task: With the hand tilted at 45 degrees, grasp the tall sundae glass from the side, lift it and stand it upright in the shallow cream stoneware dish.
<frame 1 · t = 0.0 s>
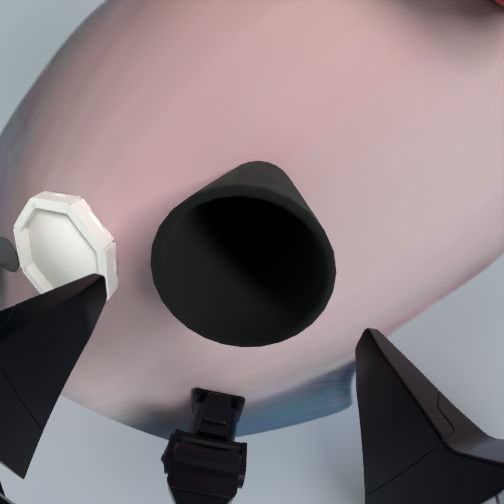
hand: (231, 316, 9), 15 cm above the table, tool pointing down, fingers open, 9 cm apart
cup: (258, 195, 23), on the table
sundae: (8, 254, 28), on the table
dish: (66, 252, 26), on the table
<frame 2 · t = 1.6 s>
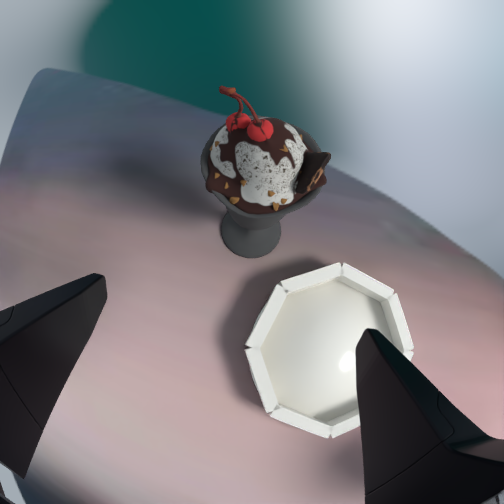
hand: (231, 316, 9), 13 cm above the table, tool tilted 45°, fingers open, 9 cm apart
sundae: (250, 230, 25), on the table
dish: (330, 351, 22), on the table
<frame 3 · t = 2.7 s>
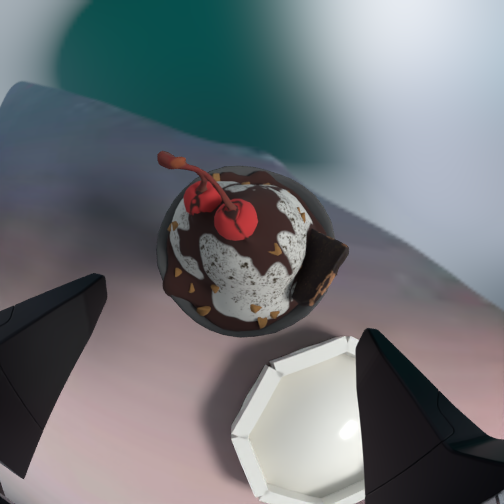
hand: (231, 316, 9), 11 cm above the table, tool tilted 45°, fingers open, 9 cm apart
sundae: (238, 293, 20), on the table
dish: (329, 429, 18), on the table
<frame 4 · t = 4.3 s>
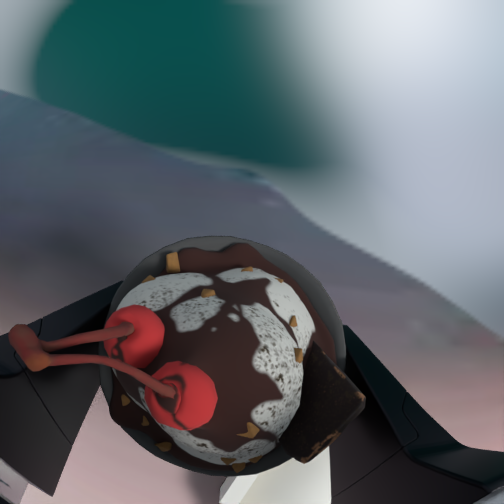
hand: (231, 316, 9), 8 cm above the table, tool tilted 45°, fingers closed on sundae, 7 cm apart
sundae: (226, 351, 17), on the table, touching gripper
dish: (325, 489, 14), on the table
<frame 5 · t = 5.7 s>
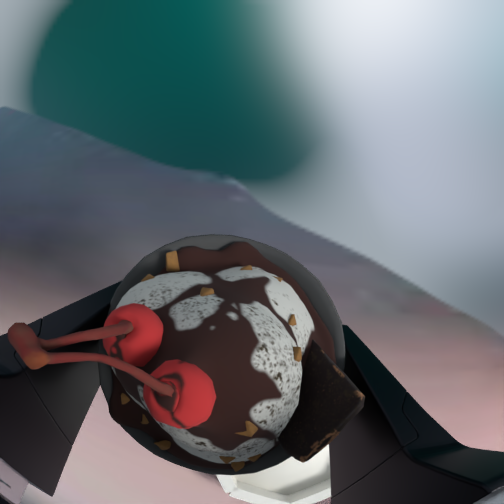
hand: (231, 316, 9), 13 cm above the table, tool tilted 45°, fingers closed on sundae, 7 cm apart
sundae: (226, 350, 17), point 5 cm above the table, touching gripper
dish: (291, 434, 20), on the table
when the fingers open (10 cm above the table, at t = 7.6 s): sundae drops 1 cm, resting on dish.
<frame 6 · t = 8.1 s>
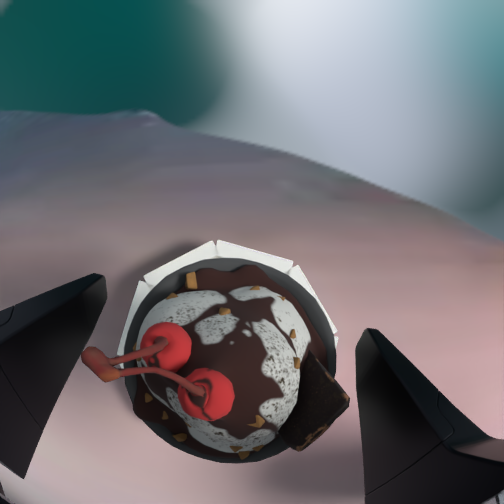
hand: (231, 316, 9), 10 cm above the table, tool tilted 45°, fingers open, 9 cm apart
sundae: (228, 352, 18), resting on dish
dish: (227, 349, 19), on the table
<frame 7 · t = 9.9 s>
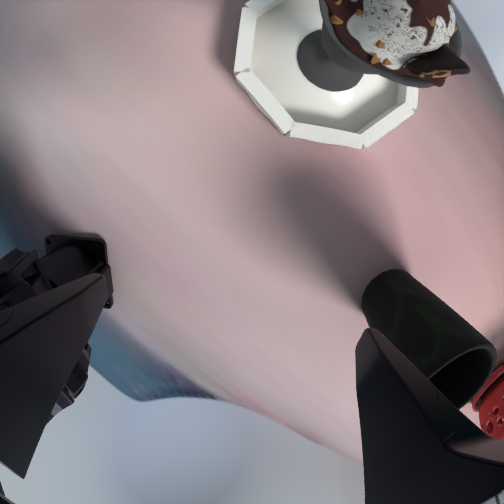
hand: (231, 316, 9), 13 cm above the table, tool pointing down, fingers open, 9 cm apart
cup: (388, 295, 25), on the table
sundae: (330, 60, 17), resting on dish
dish: (328, 58, 17), on the table
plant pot: (493, 381, 33), on the table
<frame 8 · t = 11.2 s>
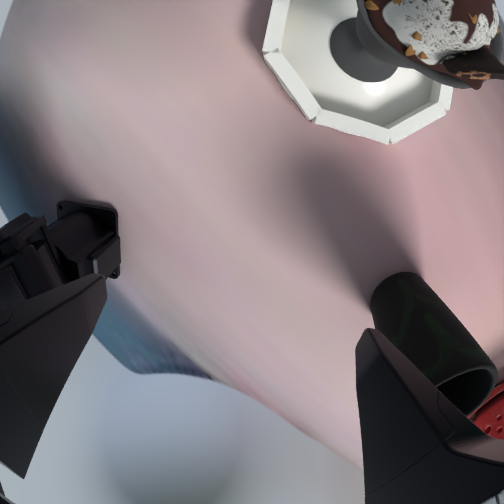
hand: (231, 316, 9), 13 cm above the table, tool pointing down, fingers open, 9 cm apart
cup: (398, 297, 24), on the table
sundae: (364, 49, 15), resting on dish
dish: (363, 48, 15), on the table
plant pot: (490, 398, 32), on the table
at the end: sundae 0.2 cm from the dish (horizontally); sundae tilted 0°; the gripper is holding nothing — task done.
